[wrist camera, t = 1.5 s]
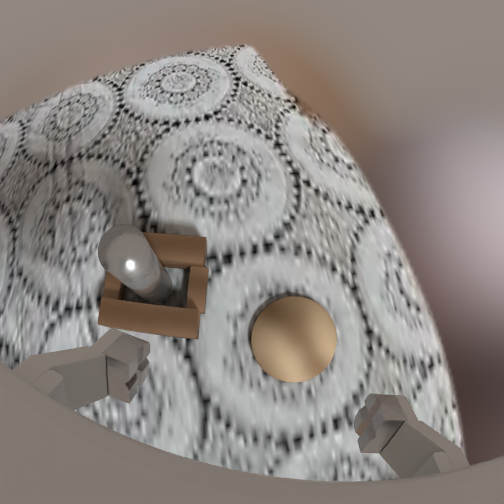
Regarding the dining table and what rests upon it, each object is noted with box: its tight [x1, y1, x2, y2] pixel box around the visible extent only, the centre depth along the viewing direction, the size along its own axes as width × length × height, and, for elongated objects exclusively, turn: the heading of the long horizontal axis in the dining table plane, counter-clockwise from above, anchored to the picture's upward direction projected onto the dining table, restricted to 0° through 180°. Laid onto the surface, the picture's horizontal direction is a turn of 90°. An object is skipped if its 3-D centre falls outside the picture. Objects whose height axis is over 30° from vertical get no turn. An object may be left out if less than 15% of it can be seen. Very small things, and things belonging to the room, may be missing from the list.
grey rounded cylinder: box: [98, 224, 173, 304], centre depth 26 cm, size 4×4×13 cm
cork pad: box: [251, 296, 337, 382], centre depth 32 cm, size 10×10×1 cm
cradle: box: [98, 232, 209, 339], centre depth 31 cm, size 11×12×3 cm
